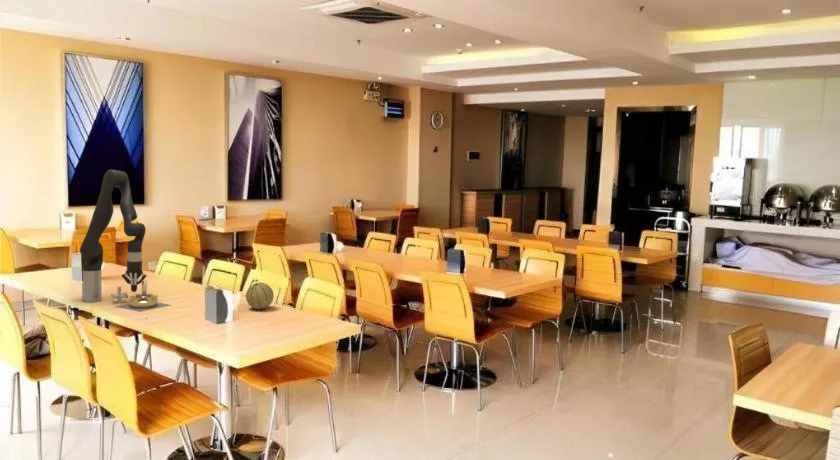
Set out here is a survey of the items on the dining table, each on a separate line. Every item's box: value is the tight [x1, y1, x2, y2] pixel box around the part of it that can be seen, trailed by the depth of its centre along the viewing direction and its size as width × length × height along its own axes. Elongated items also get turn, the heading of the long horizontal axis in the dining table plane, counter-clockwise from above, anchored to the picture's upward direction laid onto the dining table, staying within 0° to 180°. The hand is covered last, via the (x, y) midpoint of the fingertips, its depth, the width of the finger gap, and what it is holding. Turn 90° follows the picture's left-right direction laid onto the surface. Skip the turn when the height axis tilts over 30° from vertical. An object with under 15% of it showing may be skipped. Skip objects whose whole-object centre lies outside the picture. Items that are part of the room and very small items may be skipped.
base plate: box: [114, 301, 172, 313], centre depth 349 cm, size 20×20×2 cm
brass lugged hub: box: [128, 280, 159, 308], centre depth 349 cm, size 14×14×12 cm
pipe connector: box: [110, 285, 129, 303], centre depth 355 cm, size 10×10×10 cm
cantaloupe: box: [245, 282, 275, 310], centre depth 358 cm, size 15×15×15 cm
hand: (134, 291), depth 353 cm, fingers closed
